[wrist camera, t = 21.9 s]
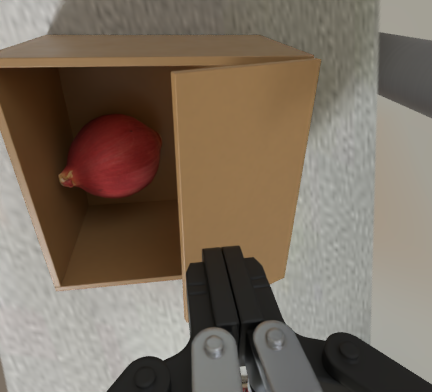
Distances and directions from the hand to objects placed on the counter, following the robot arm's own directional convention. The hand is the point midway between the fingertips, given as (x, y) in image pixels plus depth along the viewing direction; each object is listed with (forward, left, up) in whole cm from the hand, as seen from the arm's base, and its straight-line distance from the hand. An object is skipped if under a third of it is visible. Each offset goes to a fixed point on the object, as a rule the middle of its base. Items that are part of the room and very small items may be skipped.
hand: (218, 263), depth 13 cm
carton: (+2, 0, -16) cm, 16 cm away
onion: (+2, 0, -15) cm, 15 cm away
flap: (-2, 0, -4) cm, 5 cm away
